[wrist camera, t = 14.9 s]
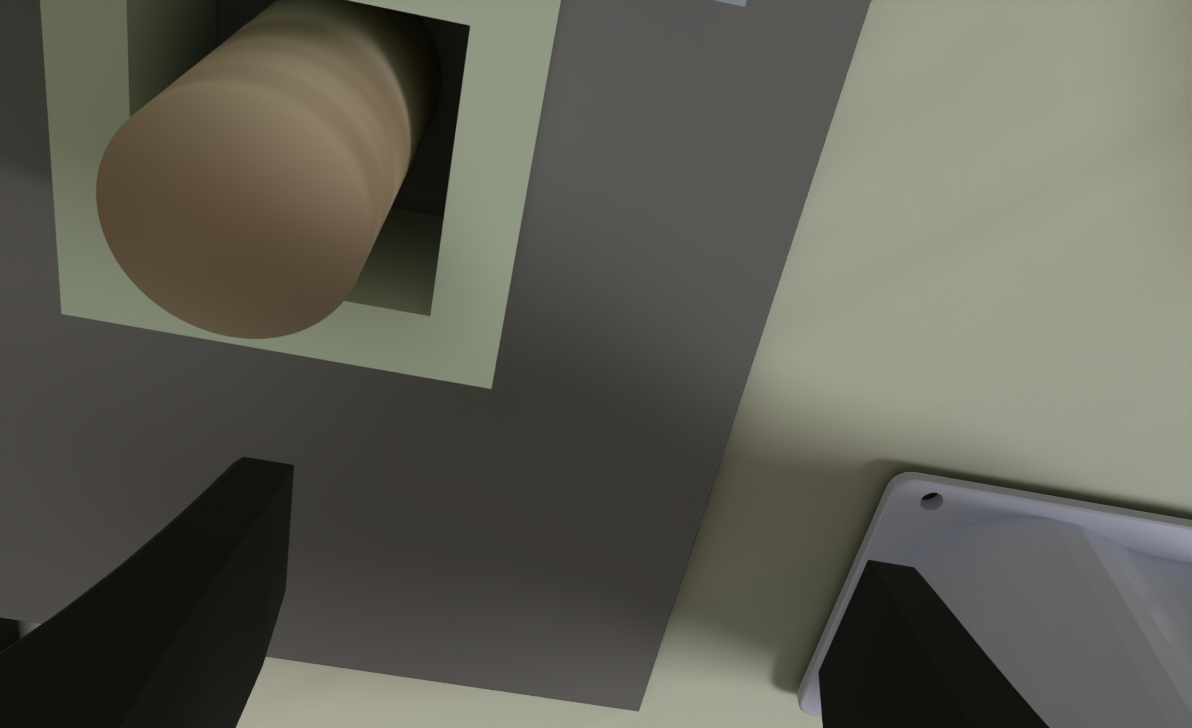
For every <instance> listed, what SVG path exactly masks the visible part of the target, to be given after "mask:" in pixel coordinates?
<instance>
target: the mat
mask: <svg viewBox="0 0 1192 728" xmlns="http://www.w3.org/2000/svg"><path fill="white" fill-rule="evenodd" d="M274 1H276V0H216V39H215V49H216V48H217V47H218V46H220V45H221V44H222V43H223V42H225V41H226V40H227V39H228V38H230V37H231V36H232V35H233V34H235V33H236V32H237V31H238V30H240V29H241V28H242V27H243V26H245V25H246V24H247V23H248V22H250V21H251V20H252V19H253V18H255V17H256V16H257V15H258V14H259V13H261V12H262V11H263V10H264V9H266V8H267V7H268V6H269V5H271V4H272V3H273V2H274ZM870 2H871V0H747V1H746V5H745V7H743V6H738V5H734V4H729V3H724V2H720V1H715V0H561V3H560V9H559V14H558V20H557V25H556V31H555V36H554V42H553V48H552V53H551V59H550V64H549V70H548V76H547V81H546V87H545V92H544V98H543V103H542V109H541V115H540V120H539V126H538V131H537V137H536V143H535V148H534V154H533V159H532V165H531V170H530V176H529V182H528V187H527V193H526V198H525V204H524V210H523V215H522V221H521V226H520V232H519V237H518V243H517V249H516V254H515V260H514V265H513V271H512V277H511V282H510V288H509V293H508V299H507V304H506V310H505V316H504V321H503V327H502V332H501V338H500V344H499V349H498V355H497V360H496V366H495V371H494V377H493V383H492V388H491V389H489V388H483V387H477V386H471V385H466V384H460V383H454V382H449V381H443V380H437V379H431V378H426V377H420V376H414V375H408V374H403V373H397V372H391V371H386V370H380V369H374V368H368V367H363V366H357V365H351V364H345V363H340V362H334V361H328V360H322V359H317V358H311V357H305V356H300V355H294V354H288V353H282V352H277V351H271V350H265V349H259V348H254V347H248V346H242V345H236V344H231V343H225V342H219V341H214V340H208V339H202V338H196V337H191V336H185V335H179V334H173V333H168V332H162V331H156V330H151V329H145V328H139V327H133V326H128V325H122V324H116V323H110V322H105V321H99V320H93V319H87V318H82V317H76V316H70V315H65V314H61V299H60V285H59V270H58V256H57V241H56V227H55V212H54V198H53V183H52V169H51V154H50V139H49V125H48V110H47V96H46V81H45V67H44V52H43V38H42V23H41V9H40V0H0V617H1V618H8V619H14V620H21V621H28V622H35V623H41V624H43V623H44V622H46V621H47V620H49V619H50V618H51V617H53V616H54V615H56V614H57V613H58V612H60V611H61V610H62V609H64V608H65V607H66V606H68V605H69V604H70V603H72V602H73V601H74V600H76V599H77V598H78V597H79V596H81V595H82V594H83V593H85V592H86V591H87V590H89V589H90V588H91V587H93V586H94V585H95V584H96V583H98V582H99V581H100V580H102V579H103V578H104V577H106V576H107V575H108V574H110V573H111V572H112V571H113V570H115V569H116V568H117V567H118V566H120V565H121V564H122V563H123V562H124V561H126V560H127V559H128V558H129V557H130V556H132V555H133V554H134V553H135V552H136V551H137V550H139V549H140V548H141V547H142V546H143V545H144V544H146V543H147V542H148V541H149V540H150V539H151V538H153V537H154V536H155V535H156V534H157V533H159V532H160V531H161V530H162V529H163V528H164V527H166V526H167V525H168V524H169V523H170V522H171V521H172V520H173V519H174V518H176V517H177V516H178V515H179V514H180V513H181V512H182V511H183V510H184V509H185V508H187V507H188V506H189V505H190V504H191V503H192V502H193V501H194V500H195V499H196V498H197V497H198V496H199V495H201V494H202V493H203V492H204V491H205V490H206V489H207V488H208V487H209V486H210V485H211V484H212V483H213V482H214V481H215V480H216V479H217V478H218V477H219V476H220V475H221V474H222V473H223V472H224V471H225V470H226V469H227V468H228V467H229V466H230V465H231V464H232V463H233V462H235V461H237V460H238V459H240V458H242V457H249V458H255V459H261V460H267V461H273V462H279V463H285V464H291V465H294V476H293V491H292V506H291V521H290V536H289V551H288V566H287V580H286V591H285V595H284V598H283V601H282V605H281V608H280V611H279V615H278V618H277V621H276V625H275V628H274V631H273V634H272V638H271V641H270V644H269V647H268V650H267V653H266V657H273V658H279V659H286V660H293V661H300V662H307V663H313V664H320V665H327V666H334V667H340V668H347V669H354V670H361V671H368V672H374V673H381V674H388V675H395V676H402V677H408V678H415V679H422V680H429V681H436V682H442V683H449V684H456V685H463V686H470V687H476V688H483V689H490V690H497V691H504V692H510V693H517V694H524V695H531V696H538V697H544V698H551V699H558V700H565V701H572V702H578V703H585V704H592V705H599V706H606V707H612V708H619V709H626V710H633V711H639V709H640V706H641V703H642V700H643V697H644V694H645V691H646V688H647V685H648V681H649V678H650V675H651V672H652V669H653V666H654V663H655V660H656V657H657V654H658V651H659V648H660V645H661V642H662V639H663V636H664V633H665V629H666V626H667V623H668V620H669V617H670V614H671V611H672V608H673V605H674V602H675V599H676V596H677V593H678V590H679V587H680V584H681V580H682V577H683V574H684V571H685V568H686V565H687V562H688V559H689V556H690V553H691V550H692V547H693V544H694V541H695V538H696V535H697V531H698V528H699V525H700V522H701V519H702V516H703V513H704V510H705V507H706V504H707V501H708V498H709V495H710V492H711V489H712V486H713V482H714V479H715V476H716V473H717V470H718V467H719V464H720V461H721V458H722V455H723V452H724V449H725V446H726V443H727V440H728V437H729V433H730V430H731V427H732V424H733V421H734V418H735V415H736V412H737V409H738V406H739V403H740V400H741V397H742V394H743V391H744V388H745V384H746V381H747V378H748V375H749V372H750V369H751V366H752V363H753V360H754V357H755V354H756V351H757V348H758V345H759V342H760V339H761V336H762V332H763V329H764V326H765V323H766V320H767V317H768V314H769V311H770V308H771V305H772V302H773V299H774V296H775V293H776V290H777V287H778V283H779V280H780V277H781V274H782V271H783V268H784V265H785V262H786V259H787V256H788V253H789V250H790V247H791V244H792V241H793V238H794V234H795V231H796V228H797V225H798V222H799V219H800V216H801V213H802V210H803V207H804V204H805V201H806V198H807V195H808V192H809V189H810V185H811V182H812V179H813V176H814V173H815V170H816V167H817V164H818V161H819V158H820V155H821V152H822V149H823V146H824V143H825V140H826V136H827V133H828V130H829V127H830V124H831V121H832V118H833V115H834V112H835V109H836V106H837V103H838V100H839V97H840V94H841V91H842V87H843V84H844V81H845V78H846V75H847V72H848V69H849V66H850V63H851V60H852V57H853V54H854V51H855V48H856V45H857V42H858V39H859V35H860V32H861V29H862V26H863V23H864V20H865V17H866V14H867V11H868V8H869V5H870ZM419 16H420V17H421V19H422V20H423V21H424V23H425V25H426V26H427V28H428V29H429V31H430V33H431V35H432V37H433V40H434V42H435V44H436V47H437V50H438V53H439V58H440V63H441V72H442V85H441V93H440V98H439V102H438V105H437V108H436V111H435V113H434V115H433V118H432V120H431V122H430V124H429V126H428V128H427V131H426V133H425V135H424V137H423V139H422V141H421V143H420V146H419V148H418V150H417V152H416V154H415V156H414V159H413V161H412V163H411V165H410V167H409V169H408V172H407V174H406V176H405V178H404V180H403V182H402V184H401V187H400V189H399V191H398V193H397V195H396V197H395V200H394V202H393V204H392V206H391V207H393V208H399V209H404V210H409V211H415V212H420V213H425V214H430V215H436V216H441V217H444V213H445V206H446V199H447V191H448V184H449V177H450V170H451V162H452V155H453V148H454V141H455V133H456V126H457V119H458V111H459V104H460V97H461V90H462V82H463V75H464V68H465V61H466V53H467V46H468V39H469V32H470V25H465V24H460V23H455V22H451V21H446V20H441V19H436V18H431V17H427V16H422V15H419Z"/></svg>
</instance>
